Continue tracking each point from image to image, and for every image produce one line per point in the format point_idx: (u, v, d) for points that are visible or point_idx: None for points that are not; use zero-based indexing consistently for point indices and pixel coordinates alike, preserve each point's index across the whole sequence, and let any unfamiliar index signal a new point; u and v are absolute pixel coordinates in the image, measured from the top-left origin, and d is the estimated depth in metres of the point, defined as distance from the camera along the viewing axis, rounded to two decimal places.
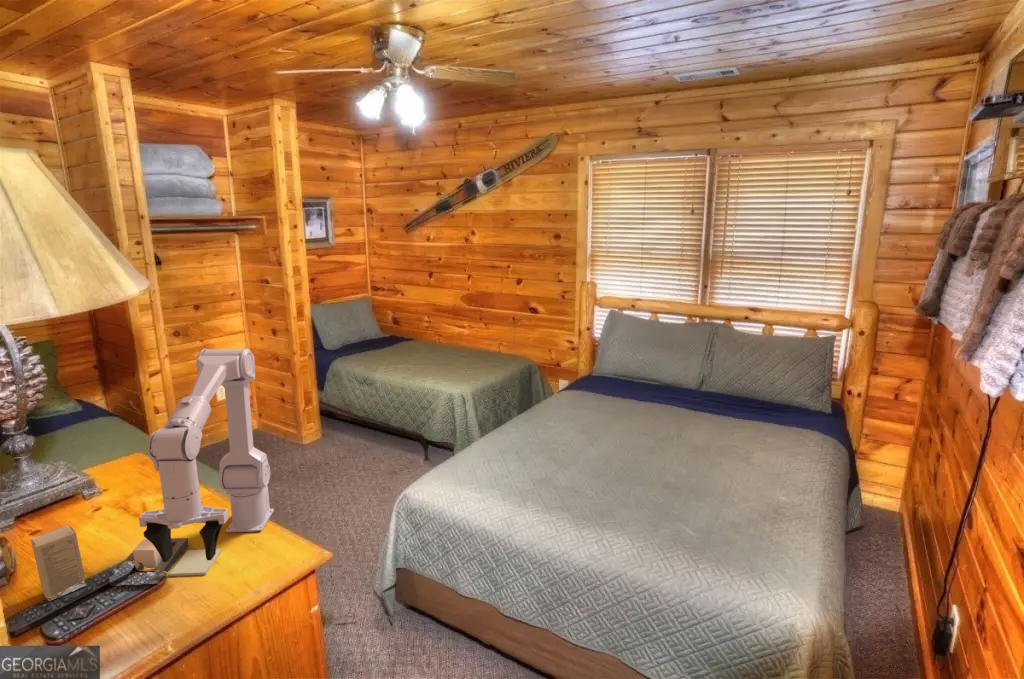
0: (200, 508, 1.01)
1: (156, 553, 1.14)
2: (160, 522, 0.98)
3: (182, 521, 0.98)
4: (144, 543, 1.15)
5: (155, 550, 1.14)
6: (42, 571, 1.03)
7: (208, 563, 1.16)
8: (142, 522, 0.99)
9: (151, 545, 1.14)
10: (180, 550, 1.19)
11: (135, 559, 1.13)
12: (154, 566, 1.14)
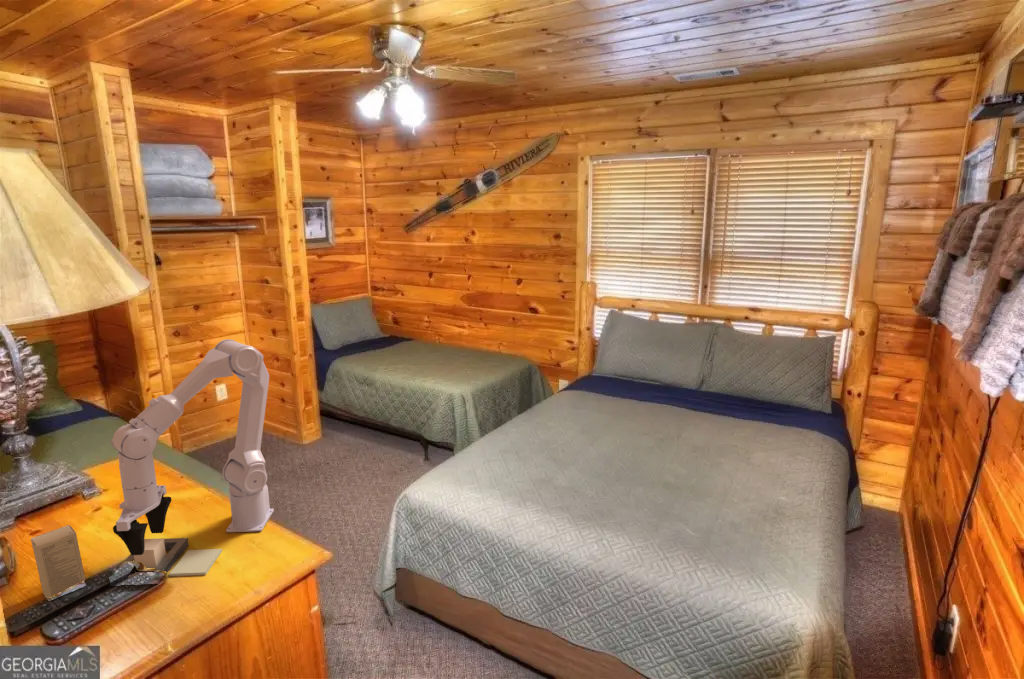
0: (135, 506, 1.10)
1: (156, 553, 1.14)
2: None
3: (124, 505, 1.11)
4: (144, 543, 1.15)
5: (155, 550, 1.14)
6: (42, 571, 1.03)
7: (208, 563, 1.16)
8: None
9: (151, 545, 1.14)
10: (180, 550, 1.19)
11: (135, 559, 1.13)
12: (154, 566, 1.14)
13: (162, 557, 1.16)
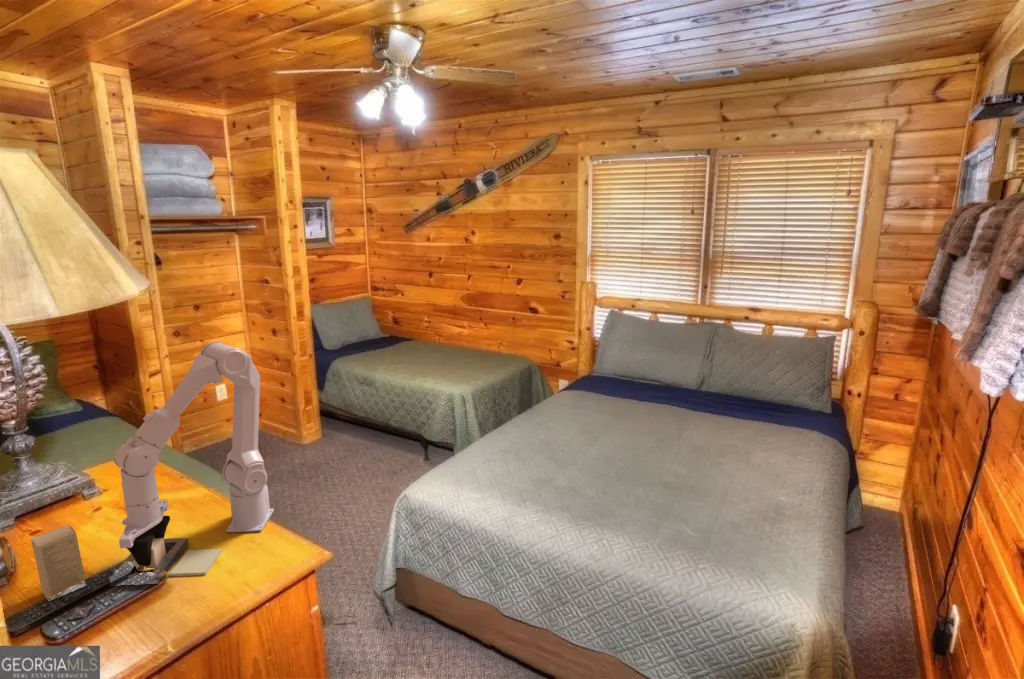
0: (138, 523, 1.11)
1: (156, 553, 1.14)
2: None
3: (127, 522, 1.12)
4: None
5: (155, 550, 1.14)
6: (42, 571, 1.03)
7: (208, 563, 1.16)
8: None
9: None
10: (180, 550, 1.19)
11: None
12: (154, 566, 1.14)
13: (162, 557, 1.16)
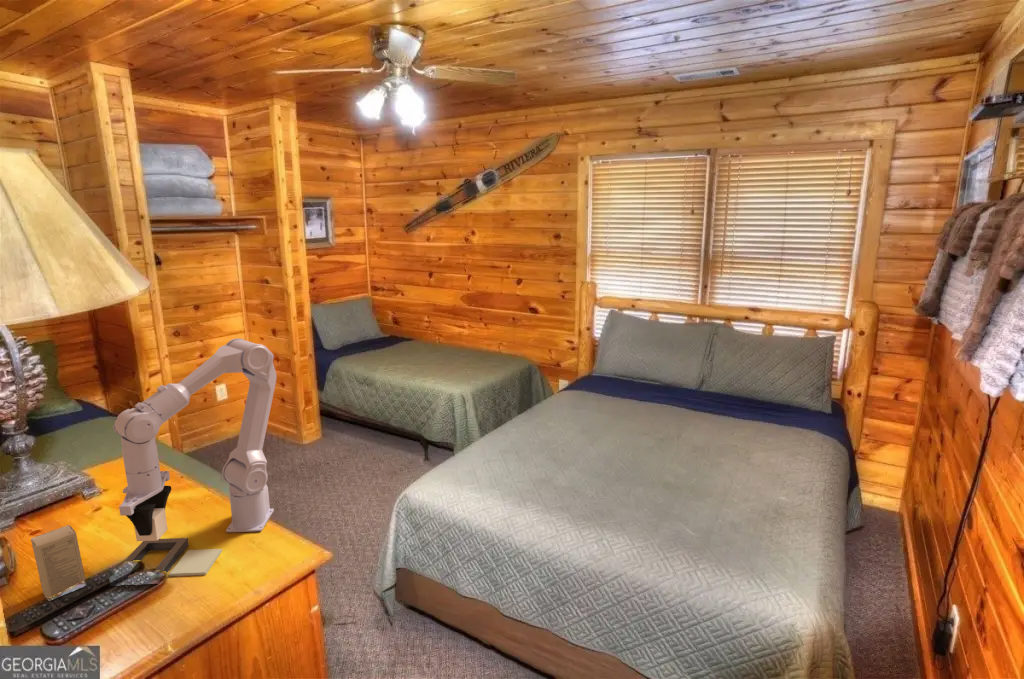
0: (139, 491, 1.09)
1: (157, 522, 1.13)
2: None
3: (127, 490, 1.11)
4: None
5: (156, 519, 1.12)
6: (42, 571, 1.03)
7: (208, 563, 1.16)
8: None
9: None
10: (180, 550, 1.19)
11: None
12: (155, 535, 1.12)
13: (163, 527, 1.15)
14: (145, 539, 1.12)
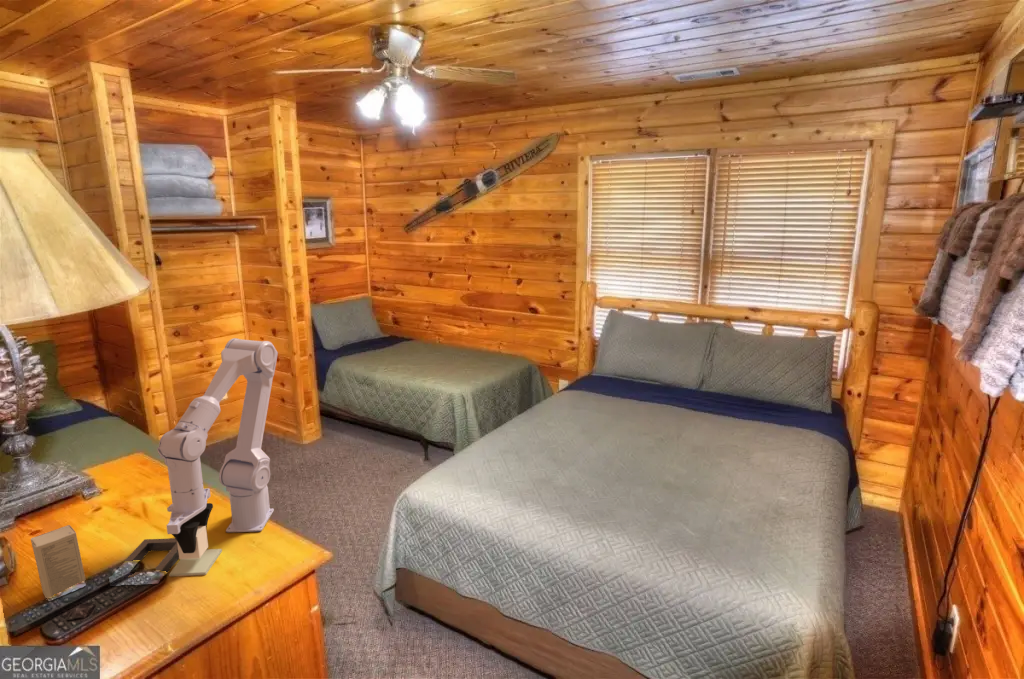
0: (184, 510, 1.11)
1: (199, 540, 1.14)
2: None
3: (172, 508, 1.12)
4: None
5: (198, 537, 1.14)
6: (42, 571, 1.03)
7: (208, 563, 1.16)
8: None
9: None
10: None
11: (178, 546, 1.13)
12: (197, 553, 1.14)
13: (204, 544, 1.17)
14: (187, 557, 1.14)
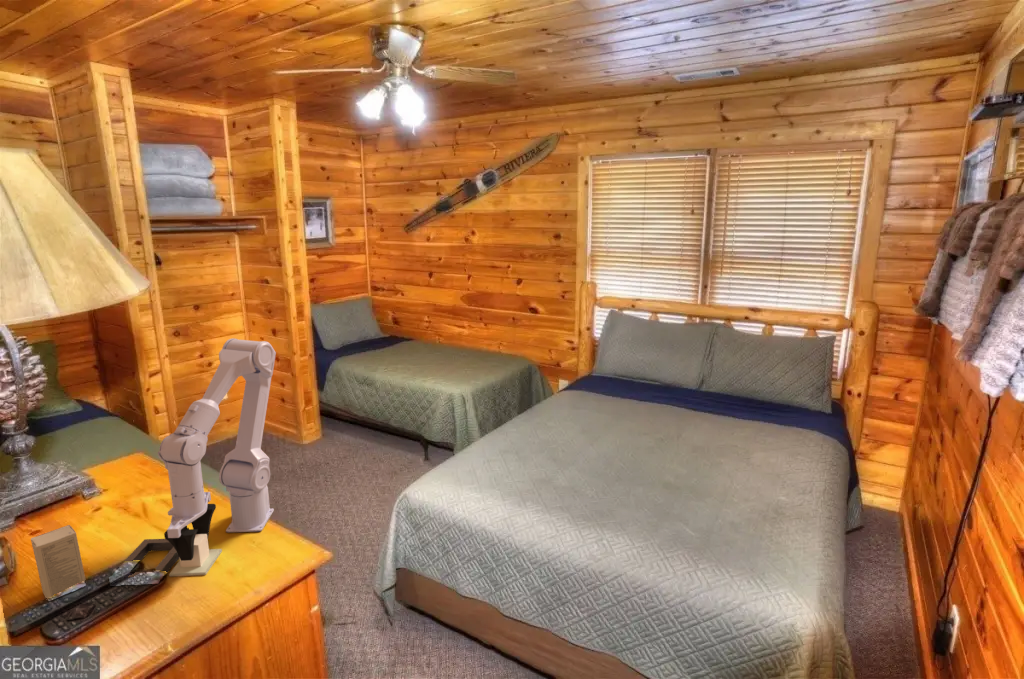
0: (184, 513, 1.11)
1: (200, 548, 1.15)
2: None
3: (172, 512, 1.13)
4: None
5: (199, 545, 1.14)
6: (42, 571, 1.03)
7: (208, 563, 1.16)
8: None
9: (195, 540, 1.15)
10: None
11: None
12: (198, 561, 1.15)
13: (205, 552, 1.17)
14: (189, 565, 1.15)
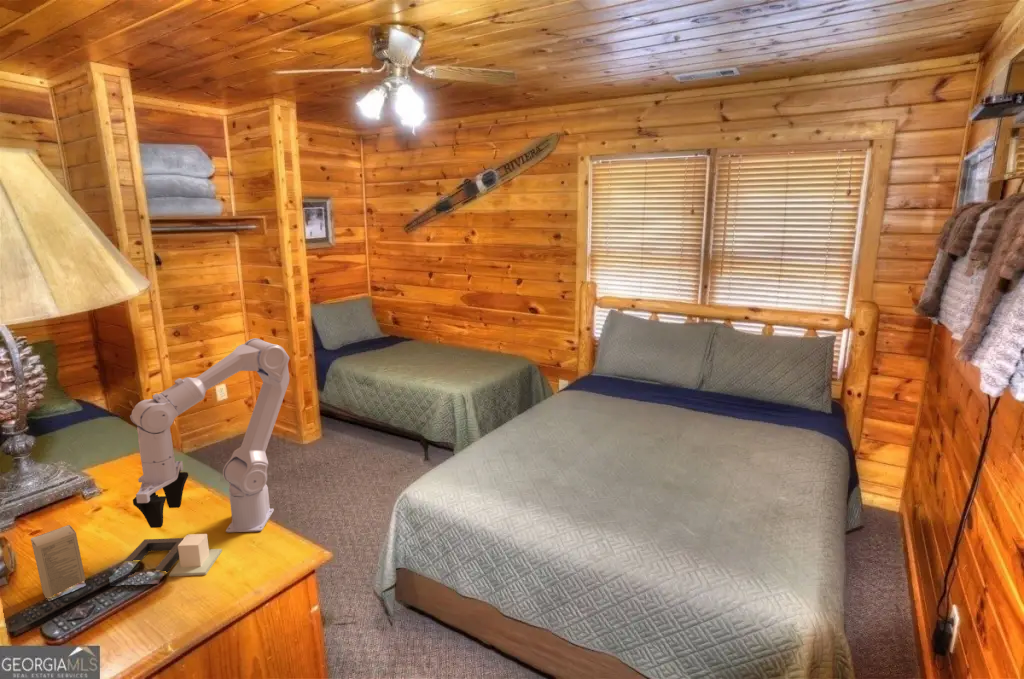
0: (154, 480, 1.12)
1: (200, 548, 1.15)
2: None
3: (143, 479, 1.13)
4: (188, 538, 1.16)
5: (199, 545, 1.14)
6: (42, 571, 1.03)
7: (208, 563, 1.16)
8: None
9: (195, 540, 1.15)
10: None
11: (180, 554, 1.14)
12: (198, 561, 1.15)
13: (205, 552, 1.17)
14: (189, 565, 1.15)
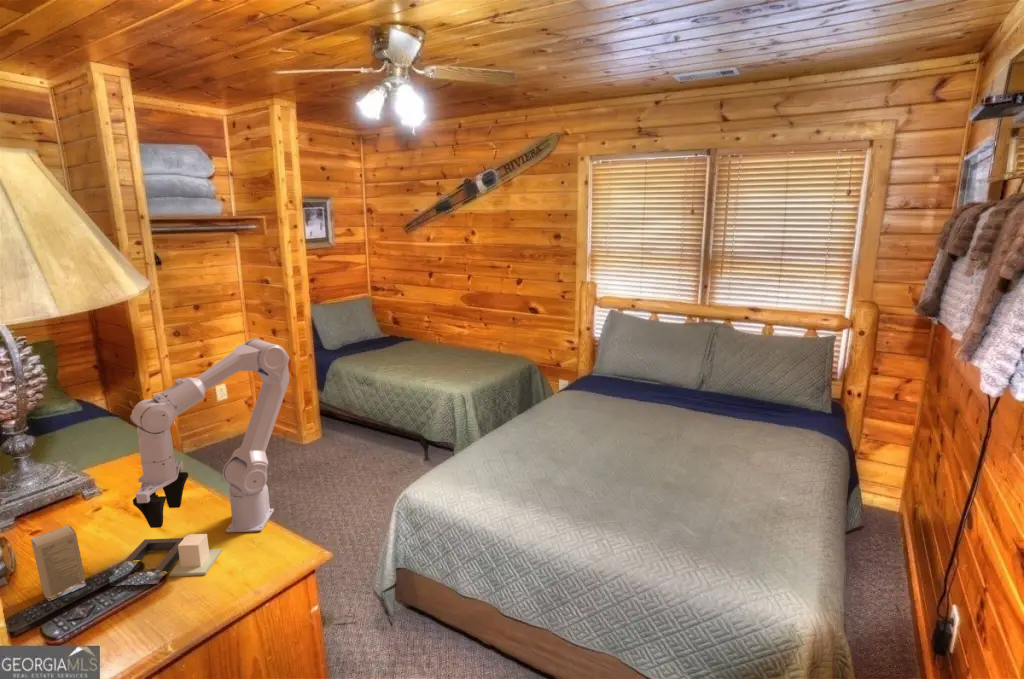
0: (154, 480, 1.12)
1: (200, 548, 1.15)
2: None
3: (143, 479, 1.13)
4: (188, 538, 1.16)
5: (199, 545, 1.14)
6: (42, 571, 1.03)
7: (208, 563, 1.16)
8: None
9: (195, 540, 1.15)
10: None
11: (180, 554, 1.14)
12: (198, 561, 1.15)
13: (205, 552, 1.17)
14: (189, 565, 1.15)
